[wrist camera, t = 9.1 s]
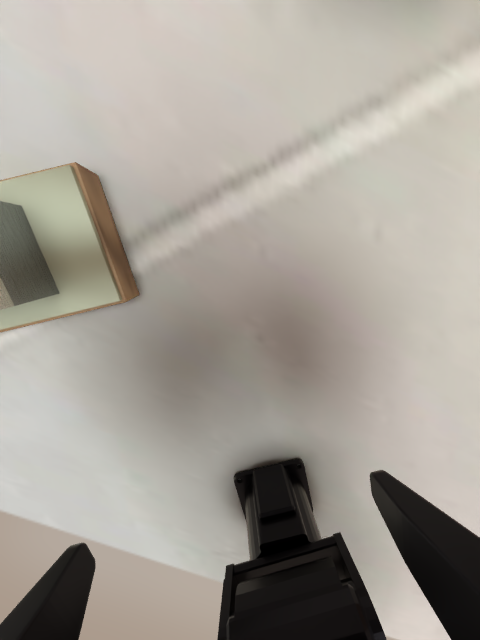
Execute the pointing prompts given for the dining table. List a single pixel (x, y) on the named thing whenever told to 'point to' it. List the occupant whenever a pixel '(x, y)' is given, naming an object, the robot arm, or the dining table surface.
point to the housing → (21, 260)
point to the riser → (70, 244)
